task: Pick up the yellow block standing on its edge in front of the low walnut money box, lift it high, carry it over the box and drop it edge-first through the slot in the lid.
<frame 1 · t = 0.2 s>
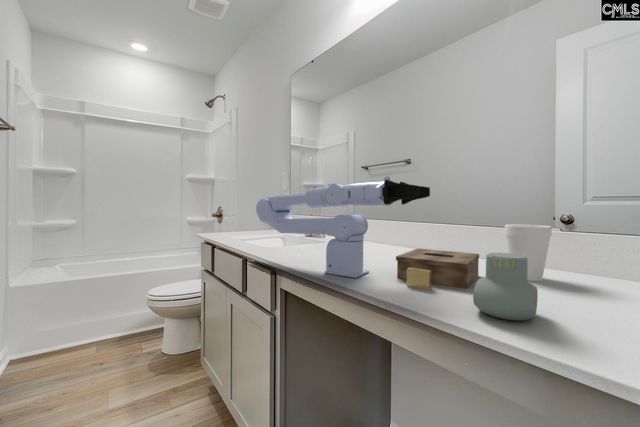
hand: (424, 191, 67), 21 cm above the worktop, tool horizontal, fingers open, 7 cm apart
yellow block: (418, 287, 67), on the worktop
air freshener: (505, 315, 50), on the worktop
foam cup: (526, 278, 75), on the worktop
money box: (438, 276, 76), on the worktop
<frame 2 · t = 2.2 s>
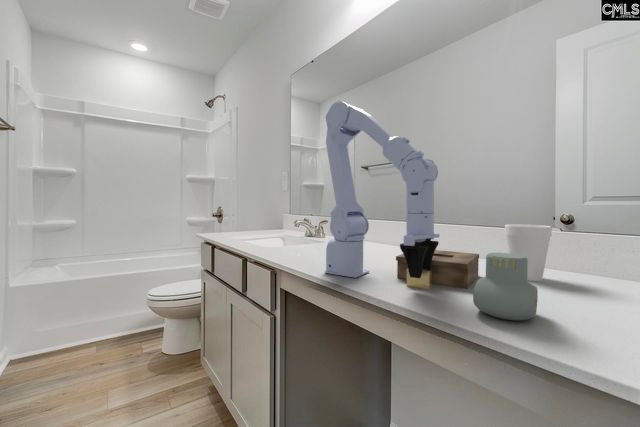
hand: (419, 274, 67), 3 cm above the worktop, tool pointing down, fingers open, 5 cm apart
nothing on the worktop moved.
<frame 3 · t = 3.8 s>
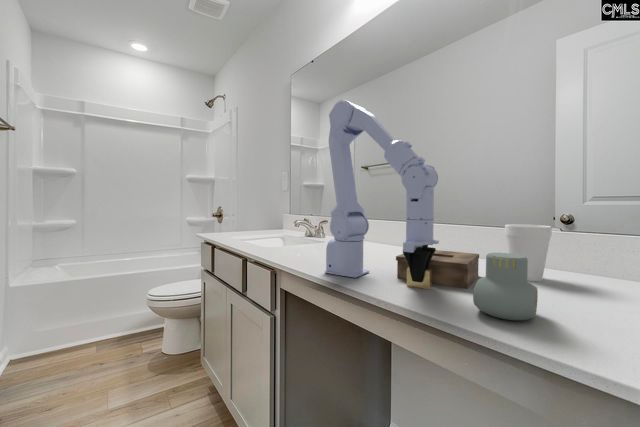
hand: (418, 280, 67), 1 cm above the worktop, tool pointing down, fingers closed on yellow block, 2 cm apart
yellow block: (418, 286, 67), on the worktop, touching gripper
everything else where it was.
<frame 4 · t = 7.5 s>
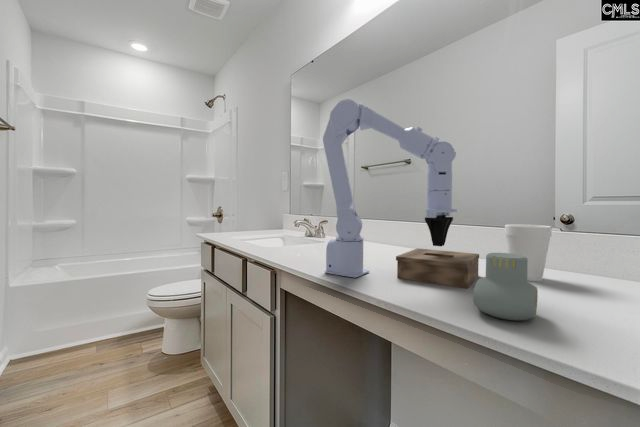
hand: (438, 245, 76), 8 cm above the worktop, tool pointing down, fingers closed
yellow block: (437, 277, 76), resting in money box
everything else where it was.
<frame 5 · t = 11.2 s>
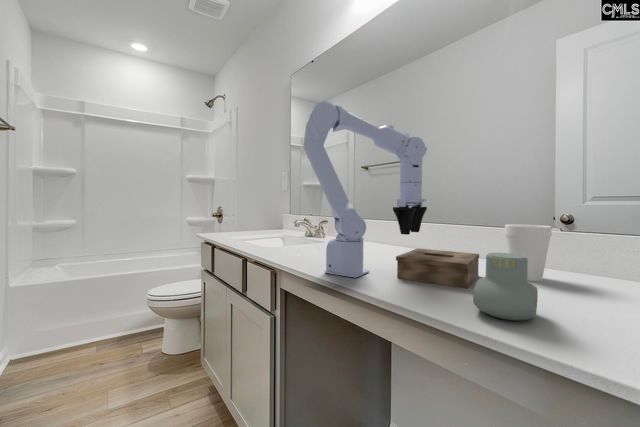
hand: (410, 233, 82), 10 cm above the worktop, tool pointing down, fingers open, 7 cm apart
nothing on the worktop moved.
at the end: yellow block inside the target area on the money box (0.2 cm from its centre), point 0.0 cm above the money box's base; the gripper is holding nothing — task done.
